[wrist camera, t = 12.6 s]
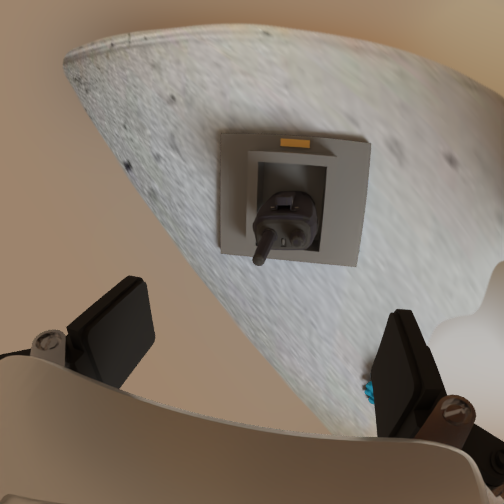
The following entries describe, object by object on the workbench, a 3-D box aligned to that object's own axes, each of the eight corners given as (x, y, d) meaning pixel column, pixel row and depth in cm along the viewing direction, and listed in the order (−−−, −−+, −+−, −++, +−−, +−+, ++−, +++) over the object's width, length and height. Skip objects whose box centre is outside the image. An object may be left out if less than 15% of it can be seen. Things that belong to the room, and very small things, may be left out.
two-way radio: (266, 219, 33) (232, 281, 19) (265, 179, 31) (227, 213, 18) (317, 220, 32) (319, 284, 18) (317, 179, 30) (322, 214, 16)
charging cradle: (369, 143, 28) (378, 143, 24) (355, 263, 34) (360, 280, 30) (223, 133, 31) (210, 133, 27) (223, 250, 36) (211, 265, 32)
